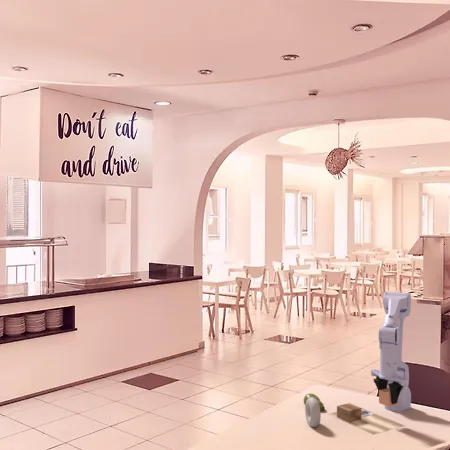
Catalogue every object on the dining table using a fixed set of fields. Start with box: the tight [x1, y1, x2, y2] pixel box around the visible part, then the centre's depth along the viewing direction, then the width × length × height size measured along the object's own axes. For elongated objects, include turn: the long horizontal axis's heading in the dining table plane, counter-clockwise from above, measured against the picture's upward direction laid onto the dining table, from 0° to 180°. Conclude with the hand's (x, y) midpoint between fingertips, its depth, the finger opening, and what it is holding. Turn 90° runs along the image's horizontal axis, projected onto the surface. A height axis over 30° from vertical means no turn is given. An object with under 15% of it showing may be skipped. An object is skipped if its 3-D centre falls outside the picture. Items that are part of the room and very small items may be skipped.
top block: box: [378, 388, 398, 407], centre depth 192 cm, size 4×4×4 cm
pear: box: [303, 393, 326, 412], centre depth 209 cm, size 6×5×10 cm
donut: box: [304, 397, 322, 428], centre depth 191 cm, size 10×4×10 cm, turn 8°
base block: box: [336, 402, 362, 423], centre depth 197 cm, size 6×6×4 cm
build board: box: [328, 407, 405, 435], centre depth 196 cm, size 15×22×1 cm
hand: (388, 401), depth 192 cm, fingers closed on top block, 4 cm apart
